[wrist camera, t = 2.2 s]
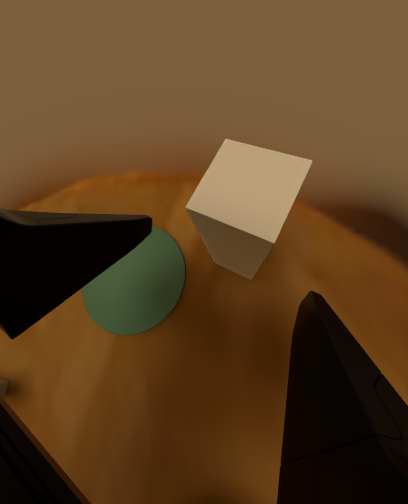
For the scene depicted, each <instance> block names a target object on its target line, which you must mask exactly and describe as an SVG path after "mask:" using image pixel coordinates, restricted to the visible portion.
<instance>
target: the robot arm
mask: <svg viewBox="0 0 408 504" xmlns="http://www.w3.org/2000/svg"><path fill="white" fill-rule="evenodd" d="M151 232H152V218H151V217H149V216H147V215H118V214H77V213H48V212H31V211H14V210H6V209H0V328H1V329H2V330H3V331H4V332H5V333H6V334H7V335H8V336H9V337H10V338H11V339H14V338H16V337H17V336H19V335H20V334H21V333H23V332H24V331H25V330H27V329H28V328H29V327H31V326H32V325H33V324H35V323H36V322H37V321H39V320H40V319H41V318H43V317H44V316H45V315H47V314H48V313H49V312H51V311H52V310H53V309H55V308H56V307H57V306H59V305H60V304H61V303H63V302H64V301H65V300H67V299H68V298H69V297H71V296H72V295H73V294H75V293H76V292H77V291H79V290H80V289H81V288H83V287H84V286H85V285H87V284H88V283H89V282H91V281H92V280H93V279H95V278H96V277H97V276H99V275H100V274H101V273H103V272H104V271H105V270H107V269H108V268H109V267H111V266H112V265H113V264H115V263H116V262H117V261H119V260H120V259H121V258H123V257H124V256H126V255H127V254H128V253H130V252H131V251H132V250H133V249H135V248H136V247H137V246H138V245H139V244H140V243H141V242H142V241H143V240H144V239H146V238H147V237H148V236H149V235H150V234H151ZM0 504H91V503H90V502H89V501H88V500H87V498H86V497H85V496H84V495H83V494H82V492H81V491H80V490H79V489H78V488H77V486H76V485H75V484H74V483H73V482H72V480H71V479H70V478H69V477H68V476H67V474H66V473H65V472H64V471H63V470H62V468H61V467H60V466H59V465H58V464H57V462H56V461H55V460H54V459H53V458H52V456H51V455H50V454H49V453H48V452H47V450H46V449H45V448H44V447H43V446H42V444H41V443H40V442H39V441H38V440H37V438H36V437H35V436H34V435H33V434H32V433H31V431H30V430H29V429H28V428H27V427H26V425H25V424H24V423H23V422H22V421H21V419H20V418H19V417H18V416H17V415H16V413H15V412H14V411H13V410H12V409H11V407H10V406H9V405H8V404H7V403H6V401H5V400H4V399H3V398H2V397H1V395H0ZM277 504H408V406H407V404H406V403H405V402H404V401H403V399H402V398H401V397H400V396H399V394H398V393H397V392H396V391H395V389H394V388H393V387H392V385H391V384H390V383H389V382H388V380H387V379H386V378H385V376H384V375H383V374H381V371H380V370H379V369H378V367H377V366H376V365H375V364H374V362H373V361H372V360H371V358H370V357H369V356H368V355H367V353H366V352H365V351H364V349H363V348H362V347H361V346H360V344H359V343H358V342H357V340H356V339H355V338H354V337H353V335H352V334H351V333H350V331H349V330H348V329H347V328H346V326H345V325H344V324H343V322H342V321H341V320H340V319H339V317H338V316H337V315H336V313H335V312H334V311H333V310H332V308H331V307H330V306H329V304H328V303H327V302H326V301H325V299H324V298H323V297H322V295H320V294H318V293H316V292H314V291H310V292H309V293H308V294H307V296H306V297H305V298H304V299H303V301H302V302H301V304H300V306H299V309H298V313H297V318H296V322H295V326H294V330H293V335H292V345H291V356H290V367H289V378H288V389H287V400H286V411H285V422H284V433H283V444H282V455H281V466H280V475H279V486H278V497H277Z"/></svg>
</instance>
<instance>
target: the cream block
mask: <svg viewBox="0 0 408 504" xmlns="http://www.w3.org/2000/svg"><path fill="white" fill-rule="evenodd" d="M311 163H312V160H308V159H304V158H300V157H296V156H292V155H288V154H284V153H280V152H276V151H272V150H268V149H264V148H261V147H256V146H253V145H249V144H244V143H241V142H237V141H233V140H229V139H225V141H224V143H223V145H222V146H221V148H220V150H219V151H218V153H217V155H216V157H215V158H214V160H213V161H212V163H211V165H210V167H209V168H208V170H207V172H206V173H205V175H204V177H203V178H202V180H201V182H200V183H199V185H198V187H197V188H196V190H195V192H194V194H193V195H192V197H191V199H190V200H189V202H188V204H187V205H186V207H185V208H186V209H187V211H188V213H189V215H190V217H191V219H192V221H193V223H194V225H195V227H196V228H197V230H198V232H199V234H200V236H201V238H202V240H203V242H204V244H205V246H206V248H207V249H208V251H209V253H210V255H211V257H212V259H213V261H214V263H216V264H218V265H220V266H222V267H224V268H226V269H228V270H230V271H232V272H234V273H236V274H238V275H240V276H243V277H245V278H247V279H249V280H252V279H253V277H254V275H255V274H256V272H257V271H258V269H259V267H260V266H261V264H262V263H263V261H264V259H265V258H266V256H267V254H268V253H269V251H270V250H271V248H272V246H273V245H274V243H275V241H276V239H277V237H278V235H279V232H280V230H281V228H282V226H283V224H284V222H285V219H286V217H287V215H288V213H289V211H290V209H291V207H292V204H293V202H294V200H295V198H296V196H297V193H298V191H299V189H300V187H301V185H302V182H303V181H304V179H305V176H306V174H307V172H308V170H309V168H310V165H311Z"/></svg>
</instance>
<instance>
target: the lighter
mask: <svg viewBox="0 0 408 504" xmlns="http://www.w3.org/2000/svg"><path fill="white" fill-rule="evenodd" d="M8 384H9V380H5V379H0V395H1V397H2V398H4V397H5V394H6V391H7V387H8Z"/></svg>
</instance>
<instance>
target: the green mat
mask: <svg viewBox="0 0 408 504" xmlns="http://www.w3.org/2000/svg"><path fill="white" fill-rule="evenodd" d="M184 282H185V262H184V258H183V255H182V252H181V250H180V248H179V246H178V245H177V243H176V242H175V240H174V239H173V238H172V237H171V236H170V235H169V234H167V233H166V232H165V231H163V230H161V229H159V228H157V227H154V226H152V232H151V234H150V235H149V236H148V237H147V238H146V239H144V240H143V241H142V242H141V243H140V244H139V245H138V246H137V247H136V248H135V249H133V250H132V251H131V252H130V253H128V254H127V255H126V256H124V257H123V258H121V259H120V260H119V261H117V262H116V263H115V264H113V265H112V266H111V267H109V268H108V269H107V270H105V271H104V272H103V273H101V274H100V275H99V276H97V277H96V278H95V279H93V280H92V281H91V282H89V283H88V284H87V285H85V286H84V287H83V288H82V292H83V300H84V303H85V307H86V309H87V311H88V313H89V315H90V317H91V318H92V319H93V320H94V322H95V323H96V324H98V325H99V326H100V327H101V328H103V329H104V330H106V331H109V332H111V333H114V334H119V335H133V334H137V333H141V332H144V331H147V330H149V329H151V328H153V327H155V326H156V325H158V324H159V323H160V322H162V321H163V320H164V319H165V318H166V317H167V316H168V315H169V314H170V312H171V311H172V310H173V309H174V307H175V305H176V304H177V302H178V300H179V298H180V296H181V293H182V290H183V287H184Z"/></svg>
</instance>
